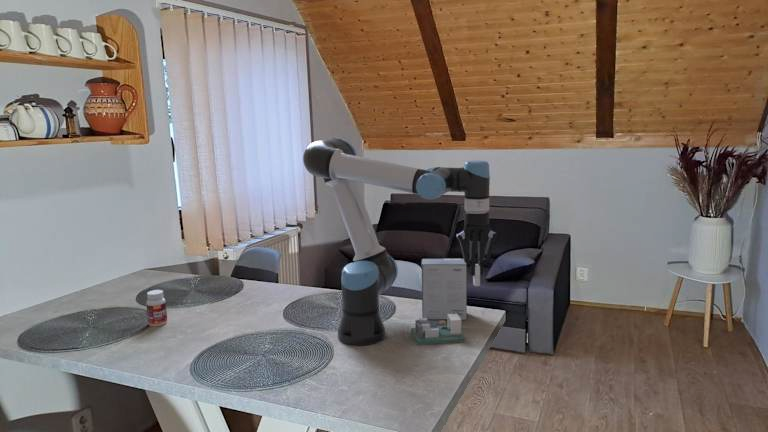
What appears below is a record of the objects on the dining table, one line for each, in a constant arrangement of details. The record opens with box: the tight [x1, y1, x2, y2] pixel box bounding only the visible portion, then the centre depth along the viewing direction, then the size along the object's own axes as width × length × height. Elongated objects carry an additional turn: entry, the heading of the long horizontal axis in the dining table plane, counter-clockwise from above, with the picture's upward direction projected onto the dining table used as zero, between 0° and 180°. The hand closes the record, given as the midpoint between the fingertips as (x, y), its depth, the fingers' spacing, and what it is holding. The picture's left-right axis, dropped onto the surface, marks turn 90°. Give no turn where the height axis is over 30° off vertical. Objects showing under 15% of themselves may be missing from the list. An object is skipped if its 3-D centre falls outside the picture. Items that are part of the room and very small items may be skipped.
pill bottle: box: [145, 289, 168, 327], centre depth 188 cm, size 6×6×11 cm
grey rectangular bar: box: [416, 319, 447, 327], centre depth 173 cm, size 9×3×1 cm, turn 96°
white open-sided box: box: [446, 314, 462, 334], centre depth 174 cm, size 3×5×5 cm, turn 6°
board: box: [411, 317, 465, 346], centre depth 174 cm, size 15×11×5 cm
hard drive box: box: [421, 258, 468, 321], centre depth 190 cm, size 16×8×20 cm, turn 84°
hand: (476, 284), depth 172 cm, fingers closed
